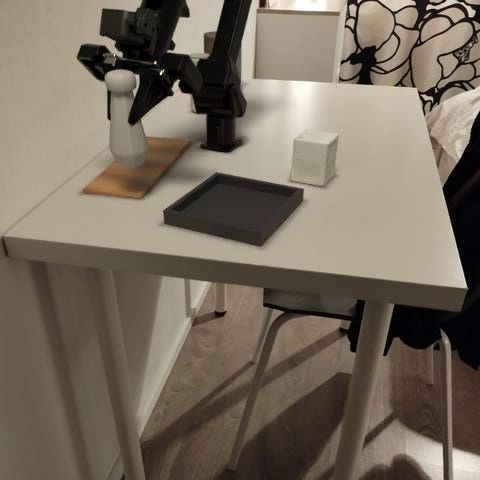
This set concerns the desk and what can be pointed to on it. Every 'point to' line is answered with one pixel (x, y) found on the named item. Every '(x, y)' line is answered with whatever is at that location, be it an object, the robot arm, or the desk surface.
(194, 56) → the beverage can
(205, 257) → the desk surface
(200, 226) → the tray
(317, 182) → the product box
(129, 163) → the salt shaker
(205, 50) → the pillar candle
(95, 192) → the wooden board
